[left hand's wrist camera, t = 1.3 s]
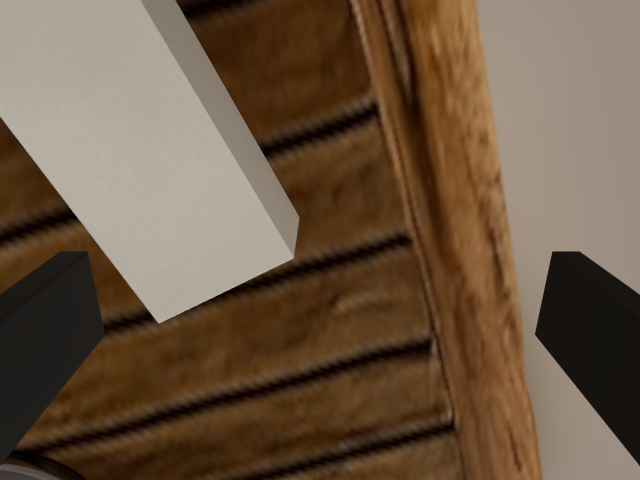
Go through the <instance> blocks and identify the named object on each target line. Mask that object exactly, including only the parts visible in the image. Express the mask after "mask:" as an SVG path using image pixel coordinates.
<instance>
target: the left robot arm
mask: <svg viewBox="0 0 640 480" xmlns="http://www.w3.org/2000/svg"><path fill="white" fill-rule="evenodd" d="M104 335H105V332H104V327H103V322H102V318H101V313H100V308H99V303H98V299H97V294H96V289H95V284H94V280H93V275H92V270H91V265H90V261H89V256H88V252H59V253H58V254H56V255H55V256H53V257H52V258H51V259H49V260H48V261H47V262H45V263H44V264H42V265H41V266H40V267H38V268H37V269H35V270H34V271H33V272H31V273H30V274H28V275H27V276H26V277H24V278H23V279H21V280H20V281H19V282H17V283H16V284H14V285H13V286H12V287H10V288H9V289H7V290H6V291H5V292H3V293H2V294H0V480H83V479H82V478H81V477H79V476H78V475H76V474H75V473H73V472H71V471H70V470H68V469H66V468H64V467H62V466H60V465H58V464H55V463H53V462H50V461H47V460H44V459H41V458H37V457H33V456H28V455H22V454H14V453H11V452H12V450H13V449H14V448H15V447H16V445H17V444H18V443H19V442H20V440H21V439H22V438H23V437H24V435H25V434H26V433H27V432H28V430H29V429H30V428H31V427H32V425H33V424H34V423H35V422H36V420H37V419H38V418H39V417H40V415H41V414H42V413H43V412H44V410H45V409H46V408H47V407H48V405H49V404H50V403H51V402H52V400H53V399H54V398H55V397H56V395H57V394H58V393H59V392H60V390H61V389H62V388H63V387H64V385H65V384H66V383H67V382H68V380H69V379H70V378H71V377H72V375H73V374H74V373H75V372H76V370H77V369H78V368H79V367H80V365H81V364H82V363H83V362H84V360H85V359H86V358H87V357H88V355H89V354H90V353H91V352H92V350H93V349H94V348H95V347H96V345H97V344H98V343H99V342H100V340H101V339H102V338H103V337H104ZM535 335H536V337H537V338H538V339H539V340H540V342H541V343H542V344H543V345H544V347H545V348H546V349H547V350H548V352H549V353H550V354H551V355H552V357H553V358H554V359H555V360H556V362H557V363H558V364H559V365H560V367H561V368H562V369H563V370H564V372H565V373H566V374H567V375H568V377H569V378H570V379H571V380H572V382H573V383H574V384H575V385H576V387H577V388H578V389H579V390H580V392H581V393H582V394H583V395H584V397H585V398H586V399H587V400H588V402H589V403H590V404H591V405H592V407H593V408H594V409H595V410H596V412H597V413H598V414H599V415H600V417H601V418H602V419H603V420H604V422H605V423H606V424H607V425H608V427H609V428H610V429H611V430H612V432H613V433H614V434H615V435H616V437H617V438H618V439H619V440H620V442H621V443H622V444H623V445H624V447H625V448H626V449H627V450H628V452H629V453H630V454H631V455H632V457H633V458H634V459H635V460H636V462H637V463H638V464H639V465H640V294H638V293H637V292H635V291H634V290H633V289H631V288H630V287H628V286H627V285H626V284H624V283H623V282H621V281H620V280H619V279H617V278H616V277H614V276H613V275H612V274H610V273H609V272H607V271H606V270H605V269H603V268H602V267H600V266H599V265H598V264H596V263H595V262H593V261H592V260H591V259H589V258H588V257H587V256H585V255H584V254H582V253H581V252H552V256H551V261H550V265H549V270H548V275H547V280H546V284H545V289H544V294H543V299H542V303H541V308H540V313H539V318H538V322H537V327H536V332H535Z"/></svg>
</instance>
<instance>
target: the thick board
mask: <svg viewBox="0 0 640 480" xmlns="http://www.w3.org/2000/svg"><path fill="white" fill-rule="evenodd" d="M0 117H1V118H2V119H3V121H4V122H5V123H6V125H7V126H8V127H9V129H10V130H11V131H12V133H13V134H14V135H15V136H16V138H17V139H18V140H19V142H20V143H21V144H22V146H23V147H24V148H25V150H26V151H27V152H28V153H29V155H30V156H31V157H32V159H33V160H34V161H35V163H36V164H37V165H38V166H39V168H40V169H41V170H42V172H43V173H44V174H45V176H46V177H47V178H48V180H49V181H50V182H51V183H52V185H53V186H54V187H55V189H56V190H57V191H58V193H59V194H60V195H61V197H62V198H63V199H64V200H65V202H66V203H67V204H68V206H69V207H70V208H71V210H72V211H73V212H74V214H75V215H76V216H77V217H78V219H79V220H80V221H81V223H82V224H83V225H84V227H85V228H86V229H87V231H88V232H89V233H90V234H91V236H92V237H93V238H94V240H95V241H96V242H97V244H98V245H99V246H100V247H101V249H102V250H103V251H104V253H105V254H106V255H107V257H108V258H109V259H110V261H111V262H112V263H113V264H114V266H115V267H116V268H117V270H118V271H119V272H120V274H121V275H122V276H123V278H124V279H125V280H126V281H127V283H128V284H129V285H130V287H131V288H132V289H133V291H134V292H135V293H136V295H137V296H138V297H139V298H140V300H141V301H142V302H143V304H144V305H145V306H146V308H147V309H148V310H149V311H150V313H151V314H152V315H153V317H154V318H155V319H156V321H157V322H158V323H161V322H163V321H165V320H167V319H169V318H171V317H173V316H175V315H177V314H179V313H181V312H184V311H186V310H188V309H190V308H192V307H194V306H196V305H198V304H200V303H202V302H204V301H206V300H208V299H210V298H212V297H214V296H217V295H219V294H221V293H223V292H225V291H227V290H229V289H231V288H233V287H235V286H237V285H239V284H241V283H243V282H245V281H247V280H249V279H252V278H254V277H256V276H258V275H260V274H262V273H264V272H266V271H268V270H270V269H272V268H274V267H276V266H278V265H280V264H282V263H285V262H287V261H289V260H291V259H293V258H294V251H295V244H296V237H297V230H298V222H299V216H298V214H297V213H296V211H295V209H294V207H293V206H292V204H291V202H290V200H289V199H288V197H287V195H286V193H285V192H284V190H283V188H282V186H281V185H280V183H279V181H278V179H277V178H276V176H275V174H274V172H273V171H272V169H271V167H270V165H269V163H268V162H267V160H266V158H265V156H264V155H263V153H262V151H261V149H260V148H259V146H258V144H257V142H256V141H255V139H254V137H253V135H252V134H251V132H250V130H249V128H248V127H247V125H246V123H245V121H244V120H243V118H242V116H241V114H240V113H239V111H238V109H237V107H236V106H235V104H234V102H233V100H232V99H231V97H230V95H229V93H228V92H227V90H226V88H225V86H224V85H223V83H222V81H221V79H220V78H219V76H218V74H217V72H216V71H215V69H214V67H213V65H212V64H211V62H210V60H209V58H208V57H207V55H206V53H205V51H204V50H203V48H202V46H201V44H200V43H199V41H198V39H197V37H196V36H195V34H194V32H193V30H192V29H191V27H190V25H189V23H188V22H187V20H186V18H185V16H184V15H183V13H182V11H181V9H180V8H179V6H178V4H177V2H176V1H175V0H0Z"/></svg>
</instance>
